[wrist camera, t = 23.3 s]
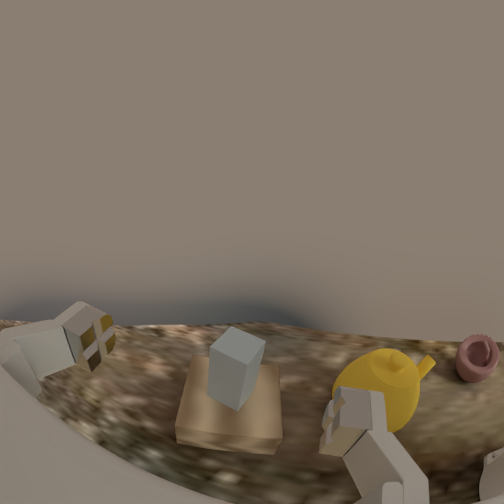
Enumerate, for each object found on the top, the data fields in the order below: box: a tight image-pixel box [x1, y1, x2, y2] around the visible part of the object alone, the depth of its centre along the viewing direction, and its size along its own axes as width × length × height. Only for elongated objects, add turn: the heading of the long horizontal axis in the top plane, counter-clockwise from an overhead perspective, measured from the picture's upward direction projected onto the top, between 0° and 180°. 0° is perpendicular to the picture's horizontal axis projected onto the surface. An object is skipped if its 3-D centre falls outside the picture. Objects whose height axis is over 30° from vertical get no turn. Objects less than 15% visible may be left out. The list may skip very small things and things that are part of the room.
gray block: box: [207, 326, 266, 412], centre depth 35 cm, size 5×5×10 cm
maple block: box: [175, 355, 283, 454], centre depth 38 cm, size 14×14×6 cm
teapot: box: [332, 349, 436, 433], centre depth 39 cm, size 20×16×14 cm
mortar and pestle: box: [455, 334, 499, 383], centre depth 45 cm, size 12×12×12 cm
